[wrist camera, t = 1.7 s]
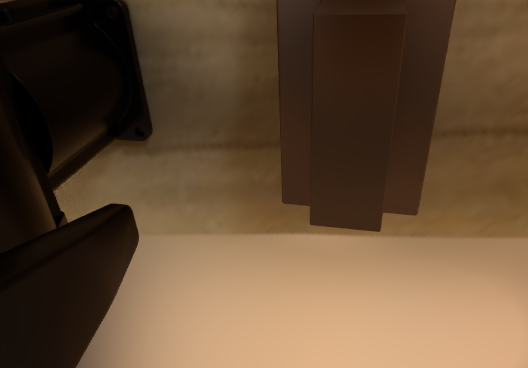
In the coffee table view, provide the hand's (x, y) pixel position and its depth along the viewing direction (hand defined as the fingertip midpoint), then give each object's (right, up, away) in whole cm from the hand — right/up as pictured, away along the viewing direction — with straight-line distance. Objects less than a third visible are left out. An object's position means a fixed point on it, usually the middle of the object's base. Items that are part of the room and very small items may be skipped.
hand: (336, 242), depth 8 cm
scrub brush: (+2, +6, +9) cm, 11 cm away
